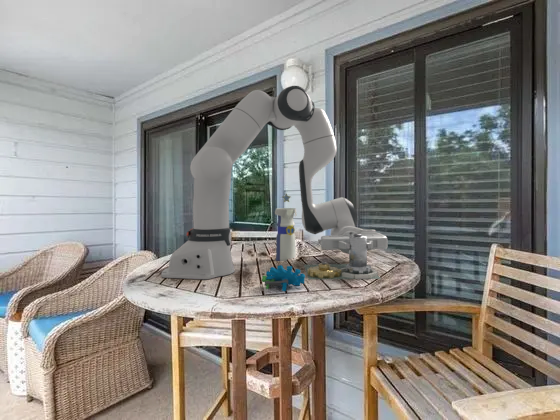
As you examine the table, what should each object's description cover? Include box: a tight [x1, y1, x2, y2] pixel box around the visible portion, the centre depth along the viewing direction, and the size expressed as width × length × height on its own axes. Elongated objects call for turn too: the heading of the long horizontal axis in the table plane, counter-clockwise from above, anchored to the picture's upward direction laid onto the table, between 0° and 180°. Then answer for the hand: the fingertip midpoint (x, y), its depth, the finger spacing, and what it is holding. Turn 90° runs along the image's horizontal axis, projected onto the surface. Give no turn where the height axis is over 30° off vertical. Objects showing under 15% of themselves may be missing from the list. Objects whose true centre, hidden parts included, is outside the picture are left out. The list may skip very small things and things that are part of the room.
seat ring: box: [341, 268, 378, 280], centre depth 96 cm, size 10×10×1 cm
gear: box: [261, 264, 306, 292], centre depth 82 cm, size 11×6×10 cm
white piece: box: [274, 193, 298, 262], centre depth 124 cm, size 8×9×25 cm
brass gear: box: [306, 261, 341, 280], centre depth 96 cm, size 10×10×4 cm
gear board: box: [303, 263, 382, 280], centre depth 100 cm, size 20×19×1 cm
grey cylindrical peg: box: [345, 234, 372, 274], centre depth 96 cm, size 7×7×11 cm
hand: (358, 246), depth 95 cm, fingers closed on grey cylindrical peg, 5 cm apart
